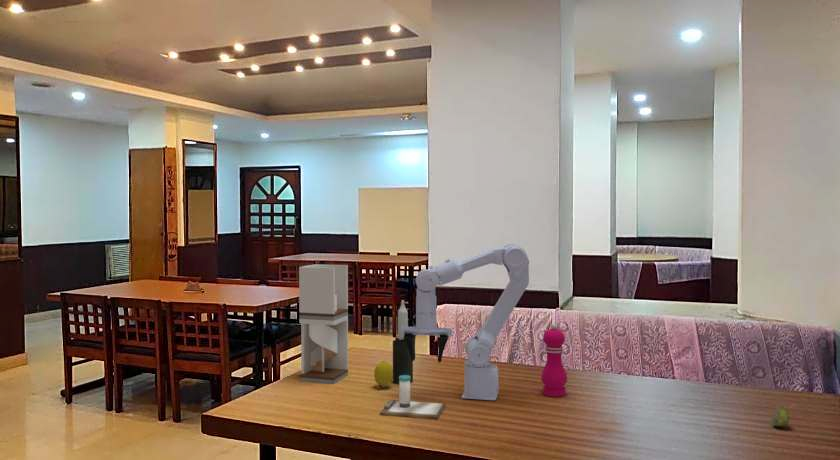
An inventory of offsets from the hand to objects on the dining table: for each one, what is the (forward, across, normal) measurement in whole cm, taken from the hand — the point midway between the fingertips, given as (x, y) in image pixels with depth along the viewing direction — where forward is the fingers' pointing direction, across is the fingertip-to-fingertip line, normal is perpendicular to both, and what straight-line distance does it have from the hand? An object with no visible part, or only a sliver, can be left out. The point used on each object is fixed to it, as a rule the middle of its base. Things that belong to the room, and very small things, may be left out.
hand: (426, 360), depth 174 cm
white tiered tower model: (+10, -35, +11) cm, 38 cm away
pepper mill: (+10, +35, +10) cm, 38 cm away
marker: (+9, -3, -13) cm, 16 cm away
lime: (+10, +88, -6) cm, 89 cm away
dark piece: (+10, -10, +12) cm, 19 cm away
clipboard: (+10, -1, -13) cm, 17 cm away
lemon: (+10, -14, +5) cm, 18 cm away
